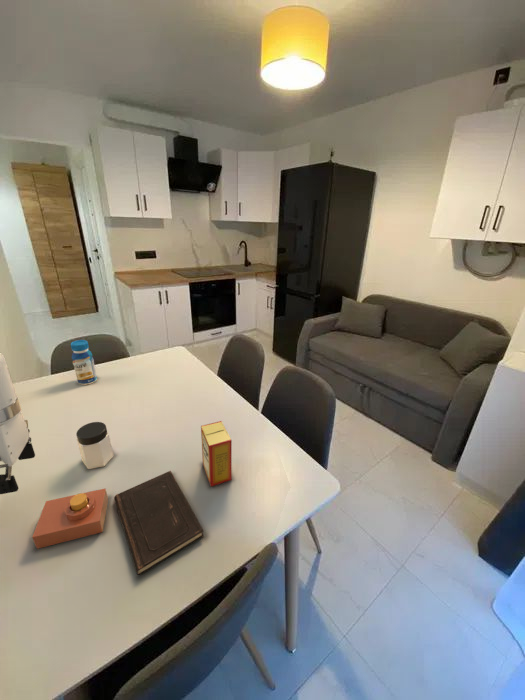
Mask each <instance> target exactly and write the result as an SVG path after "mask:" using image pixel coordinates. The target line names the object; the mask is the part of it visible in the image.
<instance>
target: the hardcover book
mask: <svg viewBox="0 0 525 700" xmlns="http://www.w3.org/2000/svg"><path fill="white" fill-rule="evenodd" d="M114 502H115V504H116V509H117V512H118V516H119V519H120V522H121V525H122V528H123V529H122V530H123V532H124V535H125V539H126V543H127V545H128V548H129V552H130V555H131V558H132V562H133V565H134V569H135V572H136V575H137V576H141V575H144V574H146V572H148V571H150V570H151V569H153V568H155V567H156V566H157V565H160V564H161V563H163V562H164V561H166V560H168V559H169V558H171V557H173V556H174V555H176V554H177V553H179V552H181V551H183V550H184V549H186V548H187V547H189V546H191V545H192V544H194V543H195V542H197V541H199V540H200V539H202V538H204V537H205V536H204V533H203V532H204V529H203V527H202V525H201V523H200V522H199V519H198V517H197V516H196V514H195V513H194V511H193V509H192V507H191V505H190V503H189V502H188V500H187V498H186V496H185V494H184V492H183V491H182V489H181V487H180V485H179V483H178V481H177V480H176V478H175V476H174V474H173V472H172V471H171V470H169V471H166V472H164V473H162V474H160V475H157V476H155V477H153V478H151V479H148V480H146V481H144V482H142V483H139V484H136V485H135V486H133V487H130V488H128V489H126V490H124V491H122V492H119V493H117V494H115V496H114Z"/></svg>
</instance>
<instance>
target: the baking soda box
mask: <svg viewBox="0 0 525 700" xmlns="http://www.w3.org/2000/svg"><path fill="white" fill-rule="evenodd" d="M200 430H201V431H200V434H201V437H200V438H201V455H202V466H203V469H204V472H205V475H206V477H207V480H208V483H209V485H210V487H214V486H217V485H220V484H224V483H226V482H229V481H232V452H233V451H232V444H233V443H232V441H233V440H232V438H231V437H230V434H229V433H228V431H227V428H226V426H225V425H224V423H223V421H222V420H219V421H216V422H211V423H207V424H203V425H200Z"/></svg>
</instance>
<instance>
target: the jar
mask: <svg viewBox="0 0 525 700" xmlns="http://www.w3.org/2000/svg"><path fill="white" fill-rule="evenodd" d="M76 442H77V446H78V450H79V453H80V457H81V460H82V463H83V464H84V465H85V467H86V468H87V469H88V470H92V469H96V468H103V467H105V466H106V465H107V464H108V463H109V462H110V461H111V460H112V458H113V457H114V452H113V447H112V442H111V437H110V434H109V432H108V429H107V425H106V423H104V422H102V421H93V422H89V423H86V424H83V425H81V427H80V428H79V429H77V431H76Z"/></svg>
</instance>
